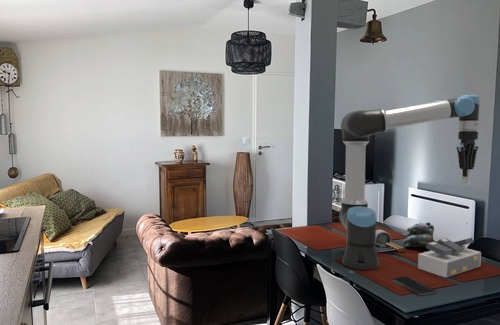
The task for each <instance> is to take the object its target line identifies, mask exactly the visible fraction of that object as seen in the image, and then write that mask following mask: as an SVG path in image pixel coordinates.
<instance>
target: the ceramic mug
mask: <svg viewBox="0 0 500 325" xmlns="http://www.w3.org/2000/svg"><path fill="white" fill-rule="evenodd" d="M387 242H388V243H389V244H390V245H391V242H392V237H391V235H390V233H388V232H387V231H385V230H383V229H376V238H375V245H376V246H378V244H377V243H379V244H386V243H387Z"/></svg>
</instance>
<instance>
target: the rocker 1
mask: <svg viewBox="0 0 500 325" xmlns="http://www.w3.org/2000/svg"><path fill="white" fill-rule="evenodd" d="M425 249H427V250H428V251H434V252H436V253H438V254H440V255H442V256H447V255H451V254H452V249H450V248H448V247H446V246H443V245H441V244H439V243H438V242H437V241H434V242H430V243H427V245H426V248H425Z"/></svg>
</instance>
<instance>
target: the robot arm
mask: <svg viewBox="0 0 500 325" xmlns="http://www.w3.org/2000/svg"><path fill="white" fill-rule="evenodd" d="M479 115H480V97H479V95H478V94H466V95H464V94H463V95H460V96H459V97H455V98H450V99H449V98H448V99H437V100H433V101H432V102H427V103H422V104H421V103H420V104H416V105H410V106H404V107H399V108H393V109H388V110H384V109H382V108H380V109H379V108H378V109H372V110H371V109H370V110H366V109H365V110H364V109H363V110H362V109H361V110H355V111H350V112H348V113H346V114H345V116H344V117H343V118H342V120H341V124H340V128H341V132H342V142H343V144H344V145H345V175H344V178H345V179H344V181H345V182H344V198H343V199H342V200H341V204H340V205H341V206H340V210H339V212H338V213H339V215H338V216H339V221H340V223H341V226H343V227H344V228H345V230H346V246H345V249H344V252H343V254H342V260H341V261H342V262H341V264H342V265H344V266H345V267H348V268H350V269H354V270H362V271H363V270H364V271H366V270H367V271H368V270H369V271H370V270H375V269H377V268H379V266H380V258H379V256H378V251H377V249H376V244H375V238H376V230H377V215H376V214H377V213H376V211H375V210H374V209H372V208H371V207H368V206H369V205H368V204H369V202H368V201H367V200H366V198H365V195H366V194H365V190H366V185H365V184H366V146H367V145H368V144H369V143H370V136H372V135H377V134H381V133H386V131H387V130H389V129H395V128H401V127H406V126H411V125H417V124H423V123H429V122H436V121H440V120H446V119H452V118H458V135H457V136H458V140H460V144H459V145H458V146H457V147H456V150H457V151H456V152H457V158H458V168H459V170H462V176H461V177H462V178H461V180H462V182H461V184H462V185H470V184H471V171H472V170H474V167H475V163H476V159H477V152H478V150H479V146H478V145H477V146H476V142H475V141H476V140H478V139H479V132H478V130H479V120H480V119H479V117H480V116H479Z"/></svg>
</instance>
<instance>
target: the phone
mask: <svg viewBox="0 0 500 325" xmlns="http://www.w3.org/2000/svg"><path fill="white" fill-rule="evenodd" d="M391 282H392V283H394V284H396V285H398V286H400V287H401V288H403V289H404V290H407V291H409V292H411V293H412V294H413V295H414V294H415V295H416V296H418V297H423V296H424V297H425V296H430V295H435V294H436V293H437V290H435V289H434V288H432V287H430V286H428V285H426V284H425V283H422V282H420V281H418V280H416V279H414V278H412V277H410V276H406V275H404V276H398V277H392V278H391Z"/></svg>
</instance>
